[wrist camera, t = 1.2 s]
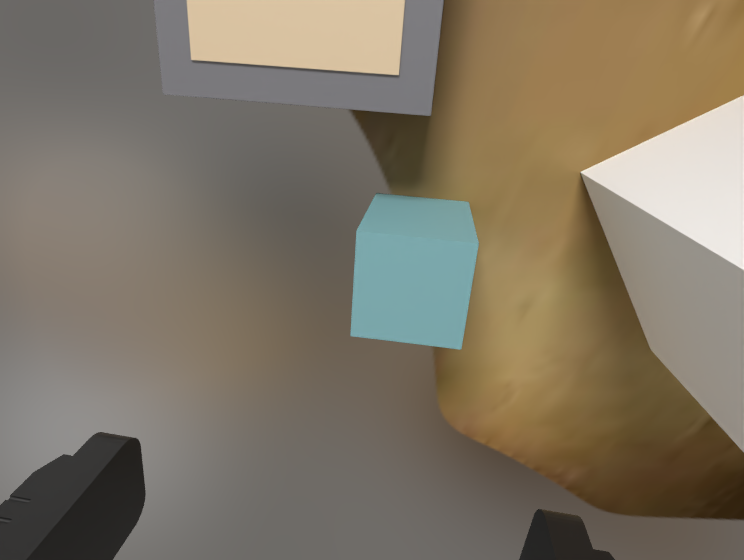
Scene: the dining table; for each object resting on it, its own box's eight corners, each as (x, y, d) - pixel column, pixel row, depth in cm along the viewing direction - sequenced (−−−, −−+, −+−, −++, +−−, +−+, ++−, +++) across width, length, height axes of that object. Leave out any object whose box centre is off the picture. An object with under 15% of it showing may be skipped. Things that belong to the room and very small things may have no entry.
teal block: (468, 201, 26) (478, 243, 19) (455, 286, 28) (461, 349, 21) (376, 193, 26) (356, 231, 20) (370, 276, 28) (350, 336, 22)
